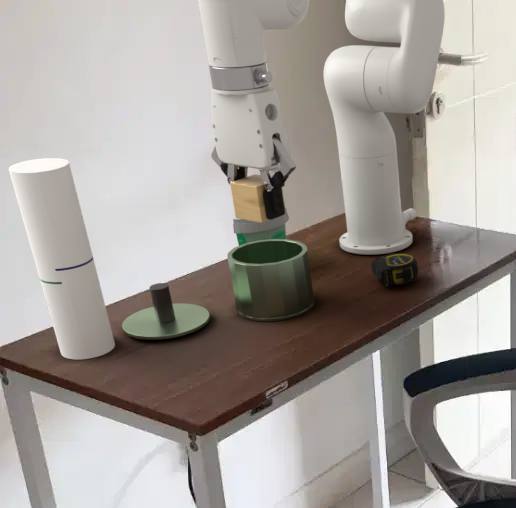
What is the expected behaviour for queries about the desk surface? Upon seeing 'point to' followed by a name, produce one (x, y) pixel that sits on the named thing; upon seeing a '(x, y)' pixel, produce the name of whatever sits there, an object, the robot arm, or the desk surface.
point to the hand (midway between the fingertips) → (260, 212)
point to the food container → (260, 229)
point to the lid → (165, 317)
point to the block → (250, 198)
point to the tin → (271, 279)
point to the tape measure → (395, 269)
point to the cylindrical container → (63, 256)
